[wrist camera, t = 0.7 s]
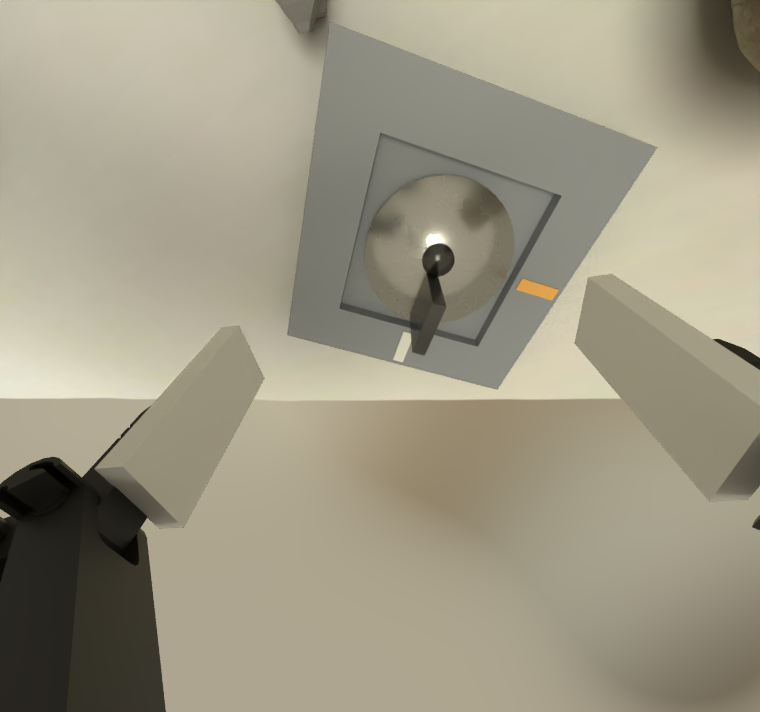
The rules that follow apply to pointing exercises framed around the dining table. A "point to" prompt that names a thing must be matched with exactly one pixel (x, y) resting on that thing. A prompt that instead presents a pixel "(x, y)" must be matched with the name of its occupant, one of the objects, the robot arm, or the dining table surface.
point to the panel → (446, 156)
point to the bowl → (747, 28)
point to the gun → (303, 12)
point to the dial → (438, 252)
